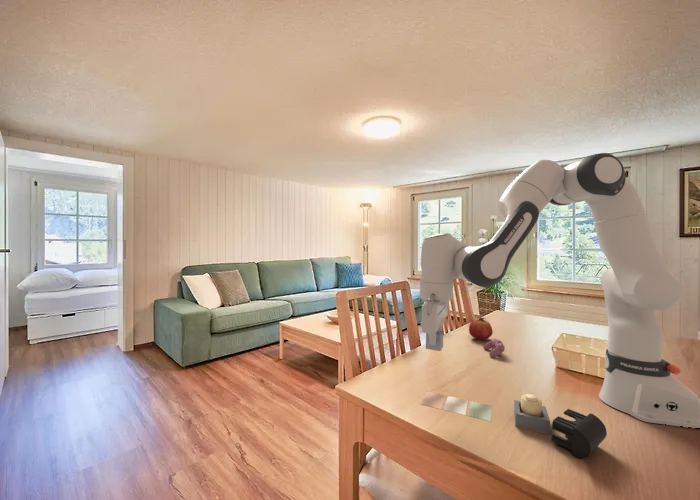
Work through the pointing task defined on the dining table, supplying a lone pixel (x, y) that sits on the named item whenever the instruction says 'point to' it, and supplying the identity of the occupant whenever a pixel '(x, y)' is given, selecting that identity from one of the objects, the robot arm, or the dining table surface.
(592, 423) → the end cap
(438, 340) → the pawn
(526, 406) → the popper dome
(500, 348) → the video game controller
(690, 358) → the dining table surface
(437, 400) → the game board
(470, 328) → the fruit
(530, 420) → the box
